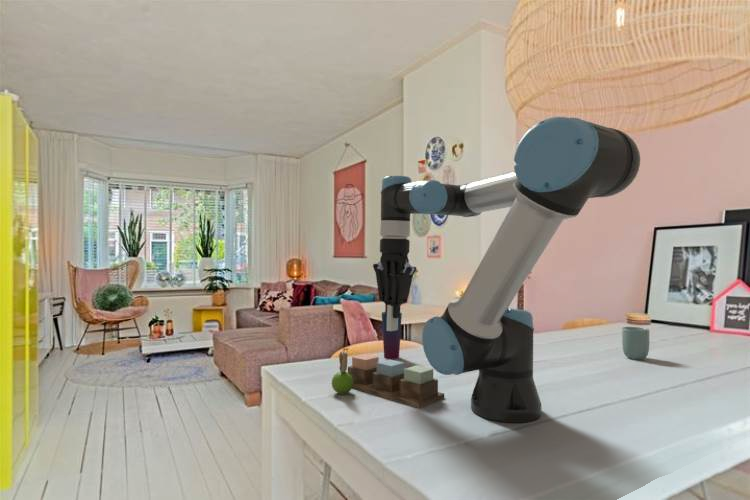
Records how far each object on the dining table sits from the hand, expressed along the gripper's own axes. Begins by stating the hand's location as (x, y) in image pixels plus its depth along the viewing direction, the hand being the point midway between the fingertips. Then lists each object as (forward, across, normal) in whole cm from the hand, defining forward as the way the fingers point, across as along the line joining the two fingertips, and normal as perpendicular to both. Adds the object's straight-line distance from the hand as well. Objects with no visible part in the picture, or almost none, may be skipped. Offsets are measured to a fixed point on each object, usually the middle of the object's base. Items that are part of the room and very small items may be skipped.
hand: (392, 330), depth 115 cm
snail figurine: (+16, +6, +11) cm, 20 cm away
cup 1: (+17, +24, -27) cm, 40 cm away
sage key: (+11, -9, 0) cm, 14 cm away
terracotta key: (+12, +9, +1) cm, 14 cm away
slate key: (+11, 0, +1) cm, 11 cm away
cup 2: (+15, -35, -84) cm, 92 cm away
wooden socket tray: (+15, -1, +1) cm, 15 cm away
